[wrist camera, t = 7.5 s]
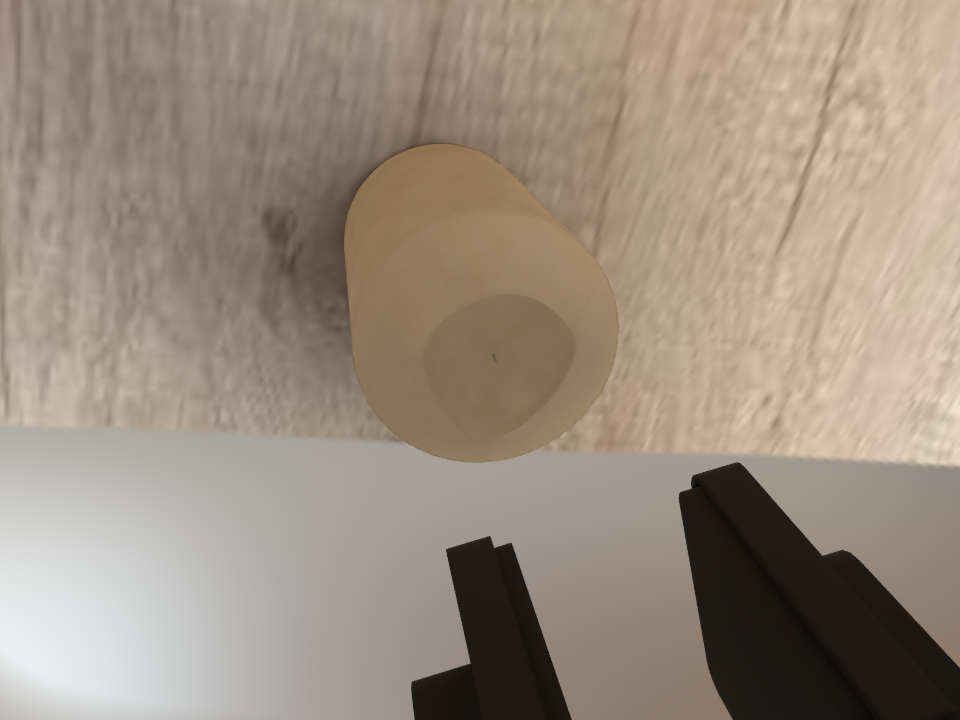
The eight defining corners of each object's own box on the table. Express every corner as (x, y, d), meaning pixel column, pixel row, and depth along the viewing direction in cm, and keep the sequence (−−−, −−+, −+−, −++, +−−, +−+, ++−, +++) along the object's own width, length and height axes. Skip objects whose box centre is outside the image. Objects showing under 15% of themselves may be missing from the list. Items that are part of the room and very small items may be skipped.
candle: (484, 351, 28) (563, 530, 19) (314, 287, 26) (310, 448, 17) (563, 187, 26) (692, 295, 17) (388, 108, 25) (427, 181, 16)
